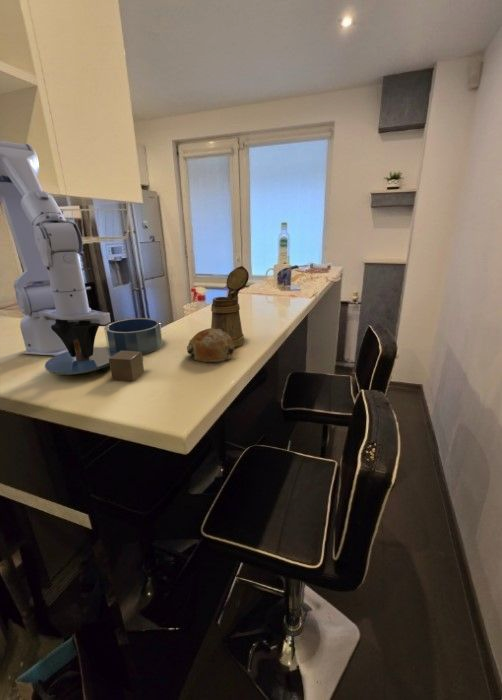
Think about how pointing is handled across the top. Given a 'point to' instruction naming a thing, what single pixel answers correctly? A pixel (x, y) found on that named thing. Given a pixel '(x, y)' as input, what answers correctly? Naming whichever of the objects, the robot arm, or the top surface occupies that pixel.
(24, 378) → the top surface
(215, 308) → the wooden mug
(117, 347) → the bowl
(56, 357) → the bowl lid
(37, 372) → the top surface
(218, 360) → the bread roll
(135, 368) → the block
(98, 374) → the top surface
